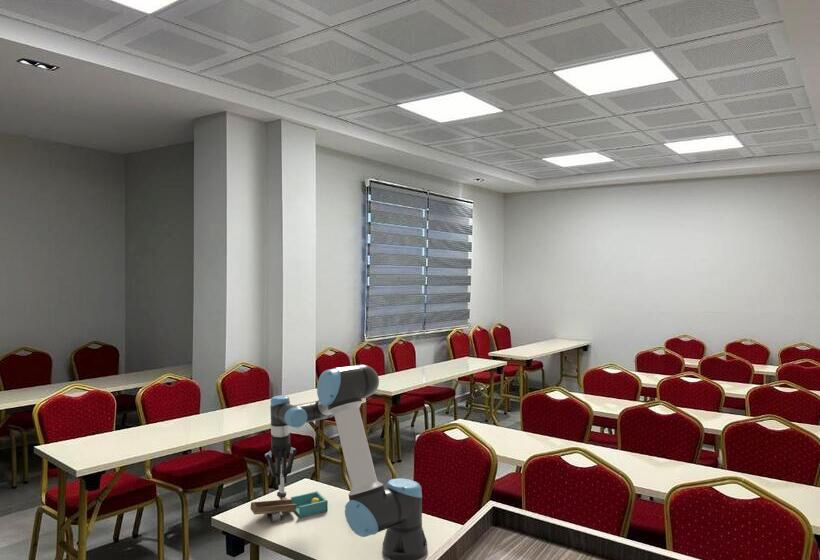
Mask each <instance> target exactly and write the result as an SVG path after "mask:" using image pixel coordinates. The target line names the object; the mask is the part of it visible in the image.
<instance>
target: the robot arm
mask: <svg viewBox="0 0 820 560" xmlns="http://www.w3.org/2000/svg"><path fill="white" fill-rule="evenodd" d="M379 385H380V379H379V374H378V373H377V371H376V370H375V369H374V368H372V367H371V366H369V365H366V364H357V365H349V366H342V367H341V366H340V367H333V368H331V369H326V370H324V371H323V372H322V373H321V374H320V376H319V378H318V381H317V385H316V392H317V400H316V401H310V402H305V403H299V404H291V400H290V396H289V395H285V394H283V395H281V394H279V395H275V396H273V397H271V399H270V406H269V409H270V434H271V437H270V439H271V440H270V443H271V445H270V448H269V451H268V452H266V453H264V457H265V458H266V461H267V463H268V466H269V471H270V474H271V475H272V477H273V478H276V479H275V481H276V482H275V483H276V485H277V486H278V492H280V493H284V492H285V484H287V477H288V475H290V474H291V473H292V468H293V464H294V459H295V455H296V454H297V452H298V450H297V449H296V448H295V447H292V446H291V445H292V444H291V427H292V428H296V429H297V428H301V427H303V426H304V425H305V424H306V423H310V422H315V421H319V420H327V419H329V418H332V417H334V420H335V424H336V429H337V432H338V436H339V440H340V445H341V448H342V449H341V450H342V453H343V458H344V462H345V465H346V470H347V473H348V474H347V475H348V479H349V483H350V486H351V489H350V491H349V493H348V499H349V501H347V503H346V504H345V505H344V506H345V507H344V515H345V516H344V517H345V519H346V522H347V524H348V526H349V528H350V529H351V531H353V533H354V534H355V535H357V536H358V537H361V538H365V537H369V536H375V535H377V534H378V533H380V532H382V531H383V532H384V531H385V530H386V531H385V534H384V538H383V540H382V554H383V555H385V556H386V557H387V558H388V559H390V560H418V559H421V558H423V557H424V556H425V555H426V554H427V552H428V540H427V538H426V535H425V530H424V528H423V494H422V486H421V485H420V483H419V482H417V481H416V480H415V481H414V480H413V479H408V478H399V477H398V478H392V479H389V480H388V481H387V483H386V488H385V486H384V484H383V483H382V482H380V481H379V480H378V479H377V475H376V471H375V470H376V469H375V467H374V462H373V458H372V454H371V450H370V447H369V442H368V438H367V435H366V431H365V430H366V429H365V426H364V422H363V419H362V413H361V410H360V408H361V405H362V404H363V400H364V399H367V398H369V397H370V396H372V395H374V394H375V393H376V391H377V390H378V388H379ZM272 455H273V457H274V460H275V465H274V463H273V462H274V461H273V459H272ZM288 455H289V456H288ZM287 459H288V461H287Z"/></svg>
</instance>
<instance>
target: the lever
mask: <svg viewBox="0 0 820 560" xmlns="http://www.w3.org/2000/svg"><path fill="white" fill-rule="evenodd" d="M276 494H277V495H276V496H277V497H278V498H279V499H276V500H275V499H274V500H267V501H266V500H264V501H263V500H262V501H252V502H250V508H249V509H250V510H251V512H252V513H253V515H256V516H257V515H265V514H267V513H276V512H280V513H286V512H287V513H288V512H295V511H296V505H297V504H292V499H291V498H290V499H289V498H287V492H286V491H284V493H280V492H279V491H278V492H277V493H276Z"/></svg>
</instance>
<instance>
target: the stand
mask: <svg viewBox="0 0 820 560" xmlns="http://www.w3.org/2000/svg"><path fill="white" fill-rule="evenodd" d="M264 515H265V517H266V518H267V520H268V521H269V522H270V524H276V523H280V522H283V518H281V512H276V513H267V514H264Z"/></svg>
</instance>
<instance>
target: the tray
mask: <svg viewBox="0 0 820 560" xmlns="http://www.w3.org/2000/svg"><path fill="white" fill-rule="evenodd" d="M313 498H318V499H319V502H316V503H311V501H312V499H313ZM290 499H292V504H297V505H296V511H294V513H295V514H296V515H297V516H298V517H299V518H303V517H307V516H312V515H316V514H317V515H318V514H319V513H320V514H321V513H324V512H327V511H328V510H329V509H328V500H327V499H326V498H325V497H324V496H323V495H322V494H321V493H320V492H319V491H318V490H317V491H311V492H308V493H307V492H306V493H303V494H299V495H294V496H291V497H290Z"/></svg>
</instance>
